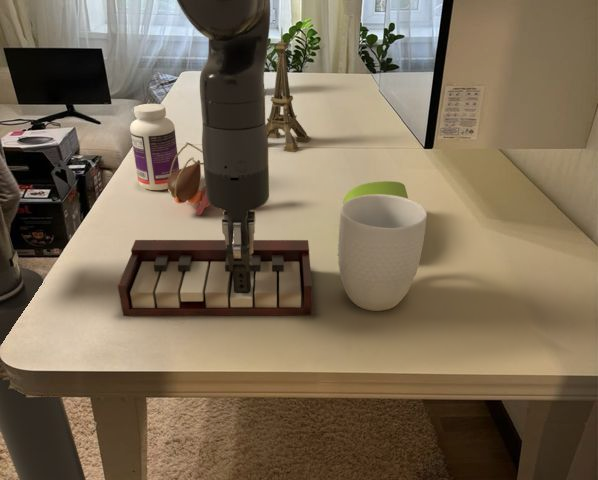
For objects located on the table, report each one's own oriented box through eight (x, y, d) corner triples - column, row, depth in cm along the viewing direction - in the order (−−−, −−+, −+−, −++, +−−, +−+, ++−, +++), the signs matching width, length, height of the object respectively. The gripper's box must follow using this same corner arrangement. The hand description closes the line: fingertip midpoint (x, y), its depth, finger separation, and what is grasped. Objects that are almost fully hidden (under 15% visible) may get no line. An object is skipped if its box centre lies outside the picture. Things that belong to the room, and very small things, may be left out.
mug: (369, 262, 92) (377, 179, 84) (437, 282, 87) (452, 196, 79) (319, 304, 81) (323, 214, 74) (393, 330, 77) (405, 236, 69)
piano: (122, 315, 78) (116, 282, 75) (140, 270, 88) (135, 239, 85) (311, 315, 79) (312, 282, 76) (307, 270, 89) (308, 239, 86)
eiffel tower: (251, 146, 136) (248, 22, 121) (270, 133, 144) (268, 16, 129) (295, 152, 133) (296, 26, 118) (311, 138, 141) (314, 19, 126)
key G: (230, 307, 78) (229, 298, 78) (234, 275, 85) (233, 267, 84) (252, 307, 79) (252, 298, 78) (254, 275, 85) (254, 267, 85)
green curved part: (343, 161, 101) (362, 218, 86) (411, 173, 103) (441, 231, 88) (331, 203, 106) (348, 264, 90) (396, 214, 108) (423, 275, 93)
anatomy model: (278, 195, 104) (217, 133, 95) (223, 248, 107) (159, 194, 98) (266, 175, 112) (208, 116, 103) (215, 225, 115) (155, 173, 106)
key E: (180, 301, 78) (179, 292, 77) (188, 270, 85) (187, 261, 84) (203, 301, 78) (202, 292, 77) (209, 270, 85) (208, 261, 84)
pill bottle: (185, 178, 119) (177, 102, 111) (174, 193, 113) (165, 114, 104) (145, 176, 120) (135, 100, 111) (133, 191, 113) (120, 112, 105)
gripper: (208, 143, 74) (218, 266, 84) (197, 181, 64) (209, 318, 74) (269, 143, 74) (271, 266, 85) (267, 182, 64) (270, 317, 74)
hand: (242, 290), depth 79 cm, fingers closed
